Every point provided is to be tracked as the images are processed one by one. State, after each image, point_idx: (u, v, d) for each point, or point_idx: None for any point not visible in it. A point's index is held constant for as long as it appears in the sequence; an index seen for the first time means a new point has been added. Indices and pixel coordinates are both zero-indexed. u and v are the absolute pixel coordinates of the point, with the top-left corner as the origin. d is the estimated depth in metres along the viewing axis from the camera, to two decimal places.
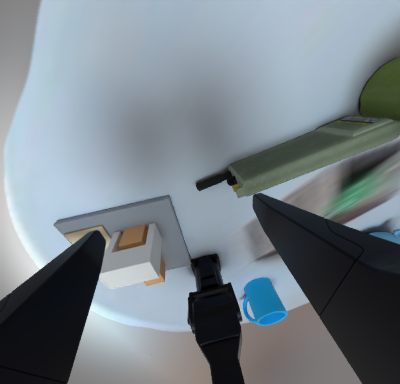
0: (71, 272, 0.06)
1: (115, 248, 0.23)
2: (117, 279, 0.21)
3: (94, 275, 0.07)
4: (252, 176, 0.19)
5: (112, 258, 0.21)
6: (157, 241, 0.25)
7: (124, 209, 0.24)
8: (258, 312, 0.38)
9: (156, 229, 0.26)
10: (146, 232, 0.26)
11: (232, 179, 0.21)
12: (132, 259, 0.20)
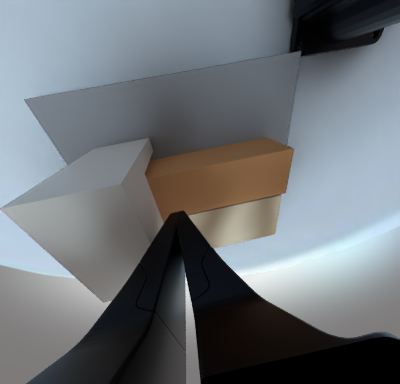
0: (176, 247, 0.07)
1: None
2: (124, 276, 0.08)
3: None
4: None
5: None
6: (113, 151, 0.09)
7: None
8: None
9: (104, 148, 0.11)
10: None
11: None
12: None
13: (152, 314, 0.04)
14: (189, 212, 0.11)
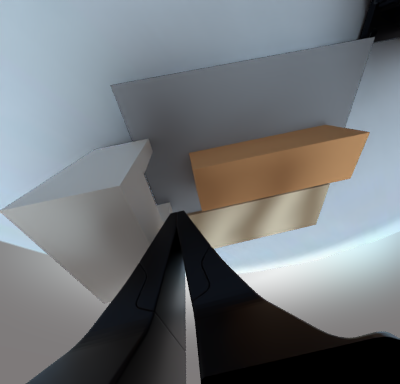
0: (176, 247, 0.07)
1: None
2: (124, 277, 0.08)
3: None
4: None
5: None
6: (112, 152, 0.09)
7: (150, 182, 0.13)
8: None
9: (103, 149, 0.11)
10: (203, 153, 0.12)
11: None
12: None
13: (152, 314, 0.04)
14: (258, 197, 0.12)
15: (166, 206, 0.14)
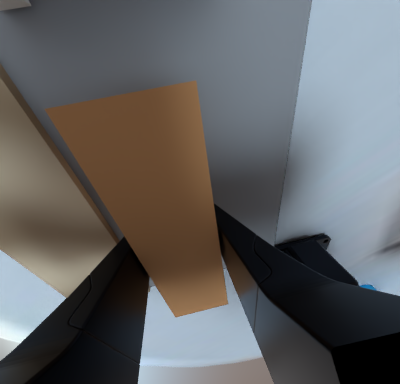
0: (135, 257, 0.06)
1: None
2: None
3: None
4: None
5: None
6: None
7: None
8: None
9: None
10: None
11: None
12: None
13: (79, 332, 0.04)
14: (129, 238, 0.06)
15: None
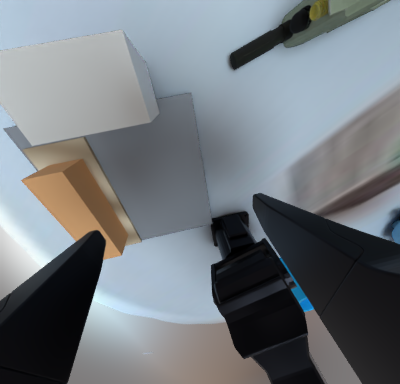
0: (71, 272, 0.06)
1: None
2: (41, 100, 0.08)
3: (94, 275, 0.07)
4: None
5: None
6: (150, 89, 0.12)
7: None
8: (295, 294, 0.29)
9: (148, 74, 0.13)
10: (83, 170, 0.16)
11: (303, 10, 0.11)
12: None
13: None
14: (56, 217, 0.16)
15: None
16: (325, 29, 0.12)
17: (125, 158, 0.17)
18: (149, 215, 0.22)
